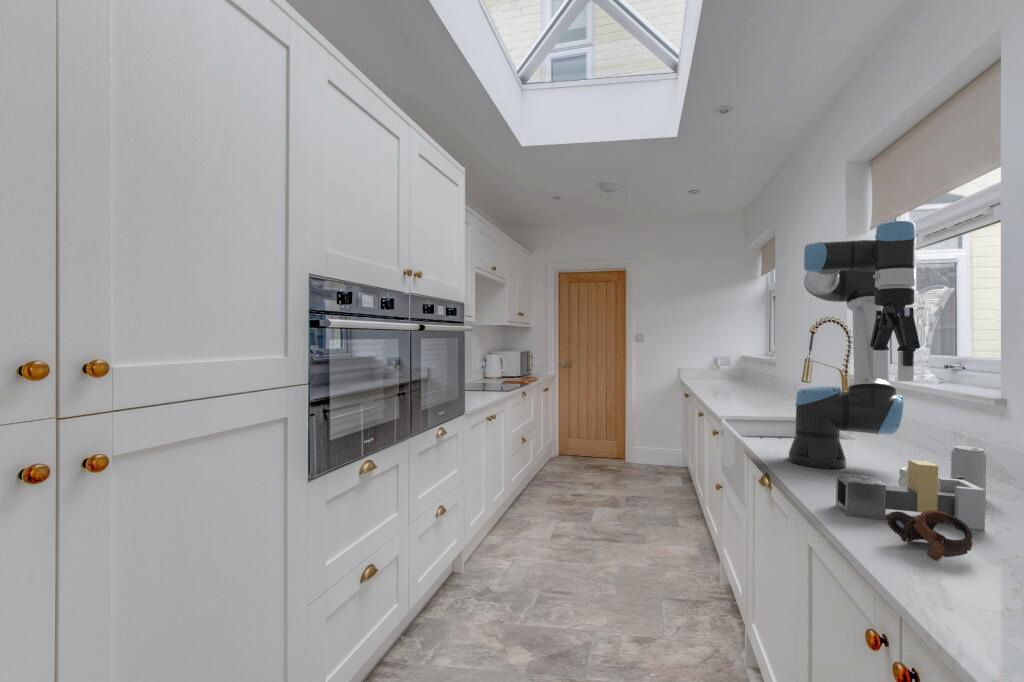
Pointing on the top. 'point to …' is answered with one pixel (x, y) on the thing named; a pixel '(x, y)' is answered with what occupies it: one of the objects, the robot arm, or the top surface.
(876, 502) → the gray block
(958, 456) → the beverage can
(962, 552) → the rusty metal ring bracket
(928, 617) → the top surface
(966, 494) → the socket
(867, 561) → the top surface
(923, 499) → the two-tone stepped block
